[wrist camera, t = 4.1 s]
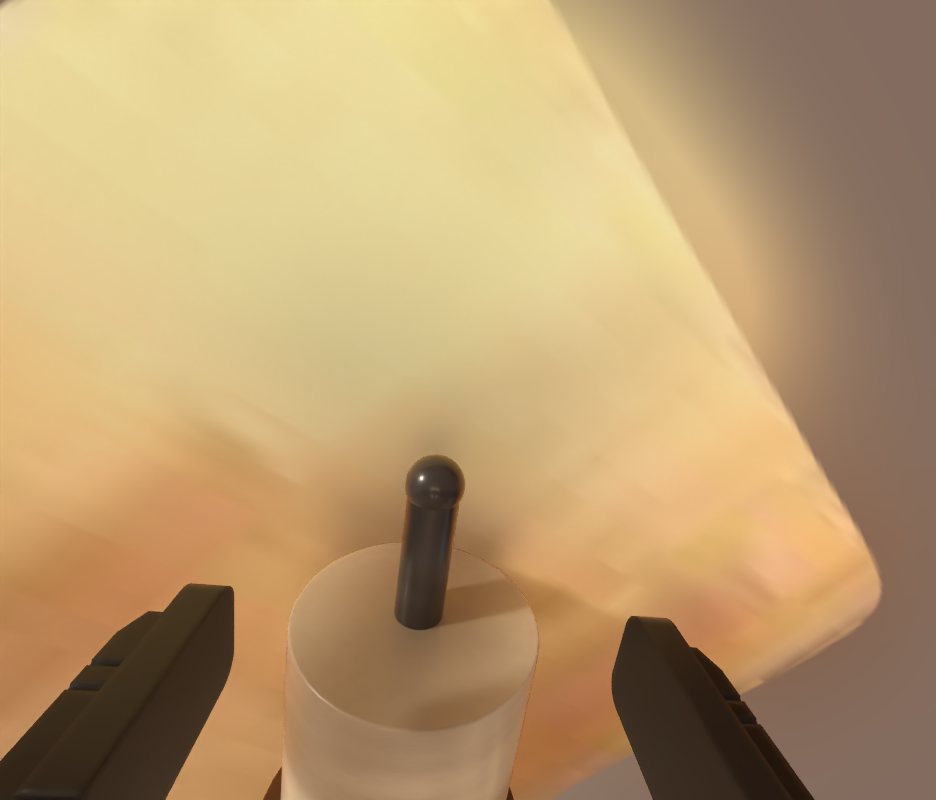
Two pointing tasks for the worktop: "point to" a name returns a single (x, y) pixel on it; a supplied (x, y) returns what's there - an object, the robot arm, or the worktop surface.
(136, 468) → the worktop surface
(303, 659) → the towel holder
